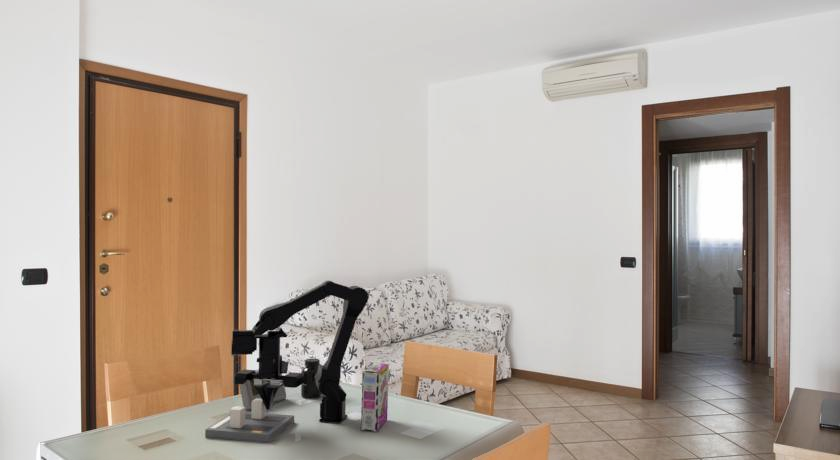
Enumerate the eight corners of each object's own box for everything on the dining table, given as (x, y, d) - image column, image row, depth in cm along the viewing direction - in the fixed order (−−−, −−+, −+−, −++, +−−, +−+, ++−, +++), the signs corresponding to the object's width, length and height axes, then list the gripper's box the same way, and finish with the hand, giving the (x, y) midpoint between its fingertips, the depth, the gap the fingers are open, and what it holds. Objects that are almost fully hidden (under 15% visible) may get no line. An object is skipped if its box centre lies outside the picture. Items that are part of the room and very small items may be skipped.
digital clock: (244, 412, 170) (244, 376, 170) (231, 405, 177) (231, 371, 177) (292, 402, 181) (292, 368, 181) (278, 395, 188) (278, 363, 188)
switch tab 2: (265, 416, 160) (266, 399, 160) (261, 419, 157) (261, 401, 157) (256, 415, 161) (256, 398, 161) (251, 418, 158) (251, 401, 158)
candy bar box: (378, 432, 154) (378, 372, 154) (360, 431, 155) (361, 371, 155) (388, 419, 165) (389, 363, 165) (372, 418, 166) (372, 362, 166)
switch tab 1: (245, 424, 153) (245, 406, 153) (240, 428, 150) (240, 410, 150) (235, 423, 153) (235, 406, 153) (229, 427, 151) (229, 409, 151)
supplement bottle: (297, 398, 185) (298, 361, 185) (305, 392, 192) (306, 357, 192) (317, 399, 184) (318, 362, 184) (324, 393, 191) (325, 358, 191)
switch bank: (294, 422, 161) (294, 415, 161) (269, 442, 146) (269, 434, 146) (235, 417, 165) (236, 410, 165) (205, 437, 149) (205, 429, 149)
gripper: (311, 349, 165) (310, 403, 165) (252, 346, 168) (251, 398, 168) (296, 357, 154) (295, 414, 154) (233, 353, 157) (232, 410, 157)
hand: (268, 409), depth 158 cm, fingers closed
